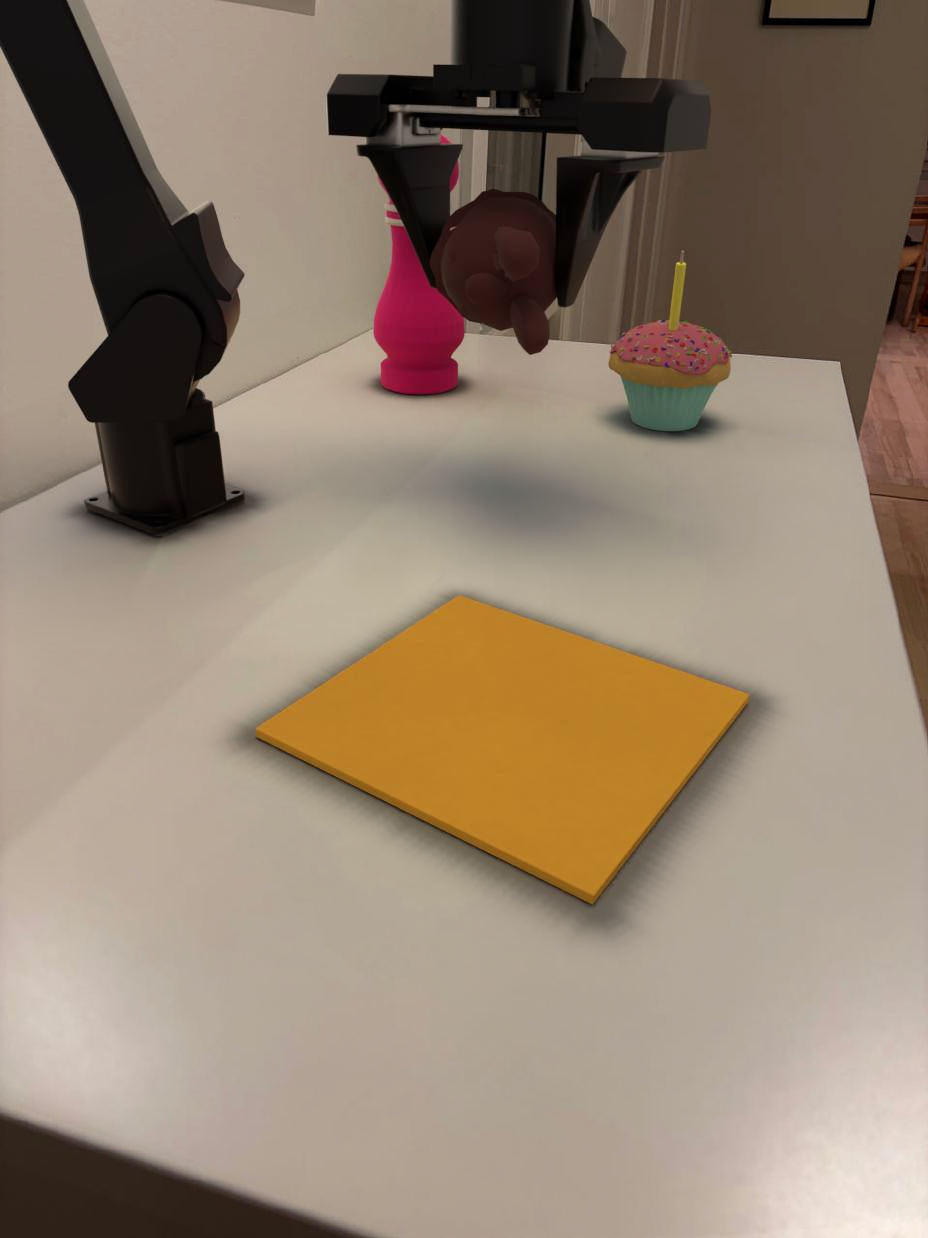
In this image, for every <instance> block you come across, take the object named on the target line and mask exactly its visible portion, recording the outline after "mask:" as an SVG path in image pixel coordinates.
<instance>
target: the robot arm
mask: <svg viewBox="0 0 928 1238" xmlns="http://www.w3.org/2000/svg"><path fill="white" fill-rule="evenodd" d="M448 36H449V39H448V41H449V44H448V45H449V46H448V47H449V49H448V64H437V63H436V64H432V73H433V74H432V75H412V74H411V75H410V74H384V73H383V74H379V73H374V74H372V73H337V74H336V76H335V78H334V80H333V82H332V84H331V85H330V87H329V89H328V91H327V93H326V97H325V111H326V132H327V136H339V137H356V138H364V139H365V141H364V142H365V144H356V145H355V151H356V156H358V157H362V158H366V159H368V160H369V162H370V163H371V165H372V167H373V169H374V171H375V172H376V174H377V175H378V176H379V178H380V180H381V182H382V184H383V186H384V187H385V189H386V191H387V193H388V195H389V197H390V199H391V200H392V202H393V204H394V206H395V208H396V210H397V212H398V214H399V216H400V218H401V221H402V223H403V225H404V227H405V230H406V232H407V234H408V236H409V239H410V241H411V243H412V246H413V248H414V250H415V252H416V255H417V257H418V259H419V262H420V264H421V266H422V268H423V271H424V273H425V275H426V278H427V280H428V282H429V284H430V286H431V288H434V289H437V288H436V278H435V276H434V274H433V272H432V270H431V267H430V258H431V254H432V252H433V250H434V248H435V246H436V244H437V242H438V240H439V238H440V236H441V233H442V230H443V227H444V225H445V223H446V221H447V219H448V218H449V217H450V216H451V210H450V204H451V193H450V181H451V176H452V173H453V171H454V168H455V166H456V163H457V161H458V162H459V158H460V155H461V153H462V151H463V147H464V144H462V143H451V144H449V143H441V135H442V133H441V132H442V130H443V129H448V130H449V129H451V130H469V131H470V130H471V131H490V132H491V131H492V132H493V131H494V132H515V133H516V132H517V133H533V134H535V133H538V134H556V135H557V134H561V135H578V136H579V135H580V143H581V144H580V155H570V156H560V157H559V156H557V157H556V172H555V173H556V175H555V177H556V179H555V180H556V181H555V183H556V184H555V215H556V247H555V282H556V292H557V298H556V301H557V306H558V307H559V308H565V309H566V308H569V307H571V306H573V305H574V304H575V302H576V300H577V297H578V295H579V293H580V290H581V288H582V285H583V283H584V281H585V278H586V277H587V274H588V271H589V269H590V266H591V264H592V262H593V259H594V257H595V254H596V252H597V250H598V247H599V245H600V242H601V240H602V237H603V235H604V233H605V230H606V228H607V226H608V224H609V222H610V220H611V218H612V216H613V214H614V212H615V211H616V209H617V207H618V205H619V203H620V202H621V200H622V198H623V196H624V195H625V193H626V192H627V190H628V189H629V188H630V187H631V185H632V184H634V182H635V181H636V180H637V178H638V177H639V176H640V175H641V173H642V172H643V171H645V170H655V169H660V168H661V167H662V166H663V163H664V161H665V159H666V156H665V155H663V154H664V153H672V152H673V153H674V152H684V151H695V150H707V147H708V141H709V132H710V124H711V117H712V103H711V99H710V94H709V92H708V90H707V89H706V87H705V86H704V84H703V82H702V80H701V79H700V80H699V79H684V78H683V79H682V78H678V79H677V78H667V77H666V78H664V77H623V72H624V67H625V63H626V59H627V54H628V51H627V49H626V48H625V46H624V45H623V44H622V43H621V41H620V40H618V38H617V37H616V36H615V35H614V33H613V32H612V31H611V30H610V28H609V27H608V25H606V24H605V22H603V21H602V20H601V19H599V18H597V17H595V16H593V12H592V5H591V0H449V35H448ZM0 50H1V51H2V54H3V56H4V58H5V60H6V62H7V64H8V66H9V68H10V70H11V72H12V74H13V76H14V79H15V80H16V82H17V84H18V86H19V89H20V91H21V92H22V95H23V97H24V98H25V101H26V103H27V105H28V107H29V109H30V111H31V113H32V116H33V118H34V119H35V121H36V123H37V125H38V127H39V129H40V132H41V133H42V134H41V135H42V136H43V137H44V140H45V142H46V144H47V147H48V148H49V150H50V152H51V155H52V157H53V159H54V161H55V163H56V164H57V165H56V166H58V169H59V171H60V173H61V175H62V177H63V179H64V181H65V183H66V186H67V188H68V189H69V192H70V193H71V195H72V197H73V199H74V202H75V206H76V209H77V212H78V217H79V222H80V229H81V234H82V240H83V246H84V253H85V258H86V265H87V270H88V275H89V276H88V277H89V280H90V283H91V287H92V289H93V293H94V296H95V299H96V302H97V305H98V308H99V311H100V314H101V318H102V321H103V324H104V328H105V330H106V333H107V336H106V337H105V338H104V340H103V341H102V342H101V343H100V344H99V345H98V346H97V348H96V349H95V350H94V352H92V354H91V355H90V356H89V357H88V358H87V359H86V361H85V362H84V363H83V364H82V365H81V366H80V368H79V369H78V370H77V371H76V373H75V374H73V376H72V377H71V378H70V379H69V380H68V385H67V388H68V390H69V392H70V394H71V395H72V398H73V399H74V400H75V402H76V404H77V406H78V408H79V409H80V411H81V413H82V415H83V416H84V418H85V420H86V421H87V422H89V423H92V424H94V428H95V433H96V439H97V444H98V449H99V455H100V459H101V466H102V471H103V476H104V481H105V486H106V491H103V492H100V493H98V494H95V495H92V496H89V497H87V498H84V500H83V502H84V506H85V507H84V508H85V509H86V510H88V511H91V512H94V513H97V514H99V515H102V516H104V517H107V518H109V519H112V520H115V521H117V522H120V523H123V524H126V525H128V526H131V527H133V528H135V529H139V530H141V531H144V532H147V533H149V534H152V535H153V534H154V535H163V534H167V533H168V532H171V531H174V530H176V529H178V528H181V527H183V526H185V525H188V524H190V523H193V522H195V521H198V520H201V519H203V518H206V517H208V516H210V515H212V514H214V513H217V512H220V511H222V510H224V509H227V508H230V507H232V506H234V505H236V504H239V503H241V502H243V501H245V500H246V492H245V490H243V489H240V488H237V487H234V486H231V485H229V484H228V485H227V484H226V481H225V480H226V479H225V472H224V464H223V455H222V447H221V446H222V445H221V437H220V433H219V432H218V431H217V430H216V422H215V413H214V404H213V400H211V399H207V398H206V393H205V392H204V391H203V390H202V389H201V388H199V387H198V386H199V383H200V381H201V380H203V378H204V377H206V376H208V375H210V374H211V372H213V371H214V369H215V368H216V367H217V366H218V365H219V363H220V362H221V361H222V359H223V357H224V355H225V352H226V350H227V348H228V346H229V344H230V343H231V340H232V338H233V335H234V333H235V331H236V328H237V325H238V323H239V321H240V315H241V299H240V294H239V290H238V288H239V287H240V285H241V283H242V282H243V280H244V278H245V276H246V275H245V272H244V271H243V269H241V268H240V266H239V265H238V264H237V263H236V262H235V261H234V260H233V258H232V256H231V255H230V253H229V251H228V249H227V247H226V245H225V244H226V243H225V241H224V238H223V234H222V233H223V232H222V230H221V229H222V228H221V226H220V221H219V217H218V214H217V210H216V207H215V205H214V203H213V202H212V201H211V200H207V201H205V202H203V203H202V204H200V205H198V206H196V207H195V208H193V209H192V210H190V211H189V210H188V209H187V207H186V206H185V205H184V203H183V202H182V201H181V200H180V198H179V197H178V196H177V194H176V193H175V192H174V190H173V189H172V188H171V187H170V185H169V184H168V183H167V181H166V179H164V177H163V175H162V174H161V172H160V170H159V169H158V166H157V165H156V163H155V160H154V158H153V155H152V153H151V151H150V149H149V146H148V144H147V142H146V140H145V139H146V138H145V137H144V135H143V133H142V130H141V128H140V125H139V123H138V121H137V119H136V117H135V113H134V112H133V109H132V107H131V105H130V103H129V101H128V99H127V96H126V93H125V91H124V89H123V86H122V84H121V82H120V80H119V77H118V75H117V73H116V71H115V68H114V66H113V64H112V61H111V60H110V57H109V54H108V53H107V50H106V47H105V46H104V43H103V40H102V38H101V37H100V34H99V32H98V29H97V28H96V25H95V22H94V20H93V18H92V16H91V13H90V11H89V9H88V6H87V4H86V2H85V0H0ZM492 92H495V99H494V100H495V102H494V105H495V106H478V98H492ZM521 98H523V99H524V100H525V101H527V104H528V107H521ZM659 153H663V154H661V155H660V154H659ZM377 175H376V176H377ZM378 176H377V177H378ZM387 193H386V194H387ZM388 195H387V196H388ZM389 197H388V198H389Z"/></svg>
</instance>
